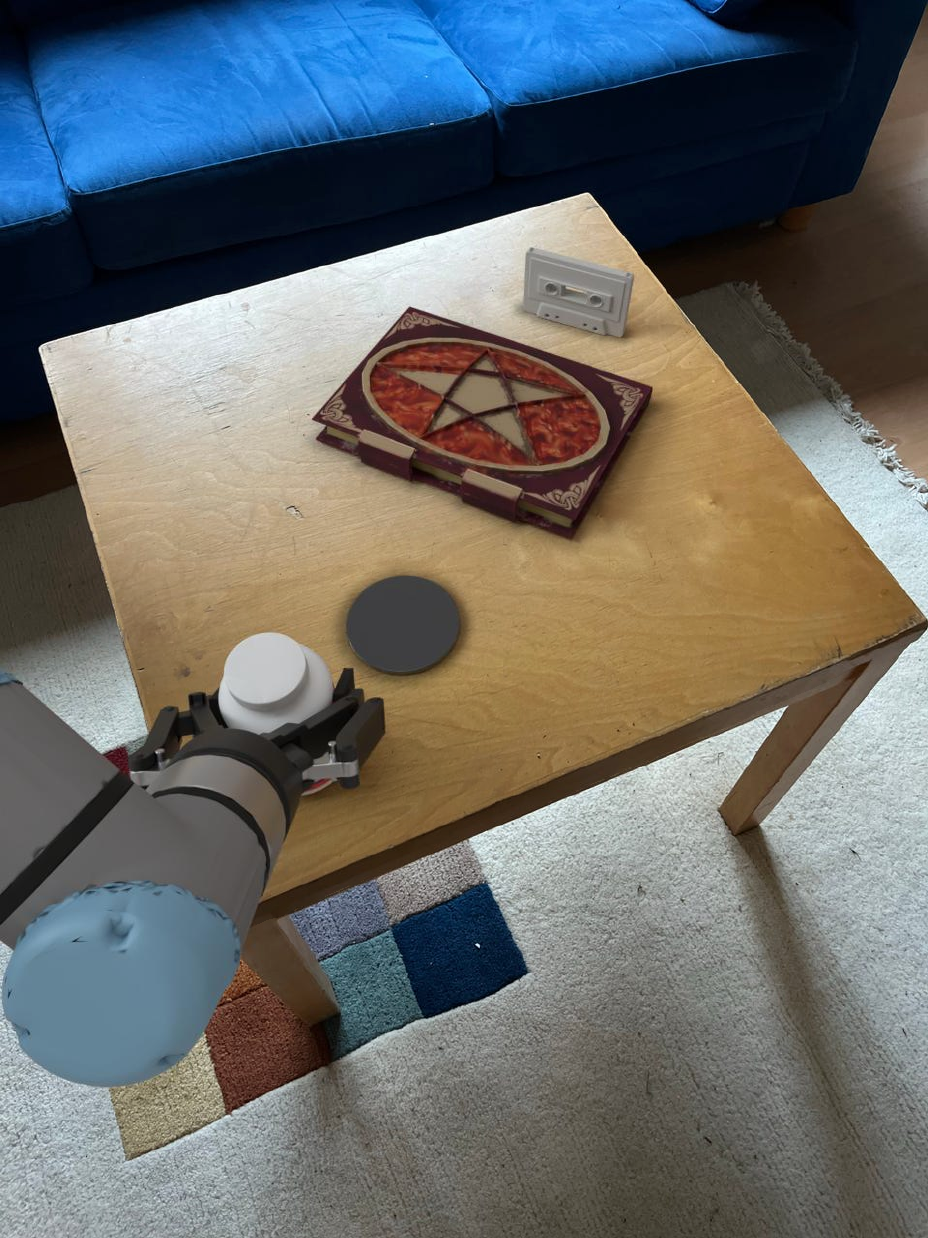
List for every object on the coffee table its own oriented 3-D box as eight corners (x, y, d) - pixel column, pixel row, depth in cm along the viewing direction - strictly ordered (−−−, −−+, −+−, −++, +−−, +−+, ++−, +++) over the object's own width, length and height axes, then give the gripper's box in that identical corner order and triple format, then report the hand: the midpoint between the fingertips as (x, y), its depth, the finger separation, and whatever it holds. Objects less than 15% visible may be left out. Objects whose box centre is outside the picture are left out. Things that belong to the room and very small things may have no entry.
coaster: (335, 668, 74) (334, 664, 73) (359, 573, 79) (358, 569, 79) (450, 681, 73) (450, 678, 72) (466, 584, 78) (466, 581, 78)
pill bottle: (364, 779, 68) (341, 697, 56) (267, 815, 67) (220, 739, 55) (335, 694, 72) (306, 601, 60) (241, 727, 71) (193, 638, 59)
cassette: (626, 330, 96) (637, 270, 89) (620, 341, 95) (631, 281, 88) (526, 303, 99) (529, 243, 92) (520, 313, 98) (523, 253, 91)
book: (648, 407, 90) (657, 369, 86) (568, 548, 80) (574, 513, 76) (413, 327, 98) (410, 289, 93) (312, 447, 87) (304, 410, 83)
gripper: (28, 891, 46) (166, 737, 68) (418, 875, 46) (429, 726, 68) (5, 759, 44) (154, 645, 66) (411, 743, 44) (424, 635, 66)
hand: (293, 686), depth 67 cm, fingers closed on pill bottle, 8 cm apart
